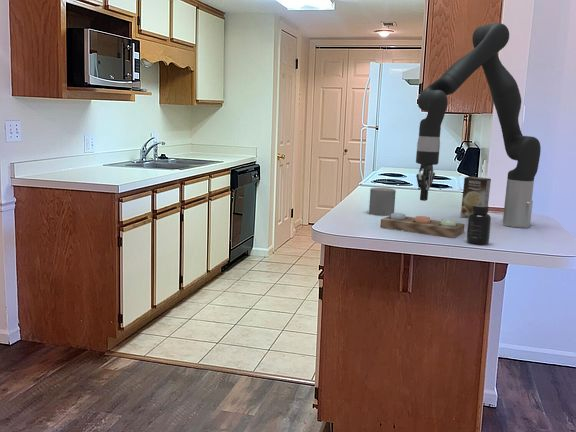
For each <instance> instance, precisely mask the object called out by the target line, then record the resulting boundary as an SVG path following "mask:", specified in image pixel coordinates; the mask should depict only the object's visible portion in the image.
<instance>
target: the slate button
mask: <svg viewBox="0 0 576 432" xmlns="http://www.w3.org/2000/svg"><path fill="white" fill-rule="evenodd" d="M405 216H406V214H405V213H401V212H394V213H391V219H396V220H405Z"/></svg>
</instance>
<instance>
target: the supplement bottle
mask: <svg viewBox="0 0 576 432" xmlns="http://www.w3.org/2000/svg"><path fill="white" fill-rule="evenodd" d="M472 211H473V213H471V214H470V215H469V217H468V218H467V219H468V220H467V231H466V233H467V234H466V242H467V243H468V244H471V245H477V246H483V245H485V246H486V245H488V244H489V242H490V237H491V236H490V235H491V234H490V233H491V223H492V216H491V215H490V214H488V213H489V211H490V210H489V205H488V206H486V205H473V209H472Z"/></svg>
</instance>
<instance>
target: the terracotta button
mask: <svg viewBox="0 0 576 432" xmlns="http://www.w3.org/2000/svg"><path fill="white" fill-rule="evenodd" d="M430 220H431V217H430V216H425V215H424V216H423V215H416V216H415V222H418V223H426V224H428V223H430Z"/></svg>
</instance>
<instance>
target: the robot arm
mask: <svg viewBox="0 0 576 432" xmlns="http://www.w3.org/2000/svg"><path fill="white" fill-rule="evenodd" d="M471 39H472V46H473V49H472V50H471V51H469V52H468V53H467V54H466V55H464V56H461V58H459V59H457V60H456V62H454V63H453V64H451V66H450V67H449V68H447V69H446V70H445V72H444V73H443V74H442V75H441V76H440V77H439V78H438V79H436V80H435V81H433V82H432V83H431V84H430V85H428V86H426V87H425V89H423V90H422V91H421V92H420V94H419V96H418V98H417V105H418V108H419V109H420V110H421V111H424V112H427V114H426V117H425V118H423V119H420V120H421V121H420V122H419V126H418V127H419V128H418V129H419V130H418V139H417V143H416V154H415V155H416V156H415V163H416V164H417V165H419V164H420V168H419V170H418V173H416V174H415V175H416V182H417V187H418V189H420V193H419V195H420V196H419V200H420V201H423V202H425V201H426V202H427V201H428V197H429V190H430V188H431V187H432V184H433V181H434V179H435V176H436V172H434V166H437V165H438V164H439V162H440V161H439V158H440V151H441V150H440V149H441V138H440V137H441V129H442V127H441V126H442V124H443V121H444V118H445V114H446V112H447V108H448V95H449V96H450V95H453V94H454V93H455V92H456V91H457V90H459V88H460V87H462V85H463V84H464V83H465V82H466V81H467V80H468V78H470V77H471V75H472V74H474V72H476V71H477V70H478V69H480V68H482V70H483V74H484V76H485V79H486V82H487V85H488V88H489V92H490V95H491V98H492V101H493V105H494V109H495V111H496V115H497V118H498V121H499V125H500V129H501V133H502V140H503V144H504V149H505V152H506V154H507V156H508V158H509V159H511V160H513V161H516V166H515V168H513V169H511V170H509V171H508V172H507V177H506V178H507V179H506V188H505V197H504V205H503V206H504V208H503V215H502V216H503V218H502V225H503V226H507V227H511V228H525V229H528V228H529V227H530V226H531V219H532V214H533V213H532V211H533V203H534V201H533V191H534V184H535V176H536V175H537V173H538V169H539V163H540V159H541V152H542V151H541V149H542V148H541V142H540V141H539V139H538V138H536V137H535V136H529V135H523V133H522V129H521V127H520V123H519V116H520V113H521V107H522V96H521V92H520V89H519V85H518V83H517V81H516V79H515V77H514V76H513V75H512V74H511V73H510V72H509V70H508V69H507V68H506V67H505V66H504V65H503V63H502V62H501V60H500V56H499V54H498V53H499V52H500V51H502V50H503V49H504V47H506V46H507V44H508V42H509V40H510V31H509V28H508V27H507V25H505V24H504V23H501V22H494V23H488V24H484V25H481V26H478V27H476V28H475V30H474V31H473V33H472V38H471Z"/></svg>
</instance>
